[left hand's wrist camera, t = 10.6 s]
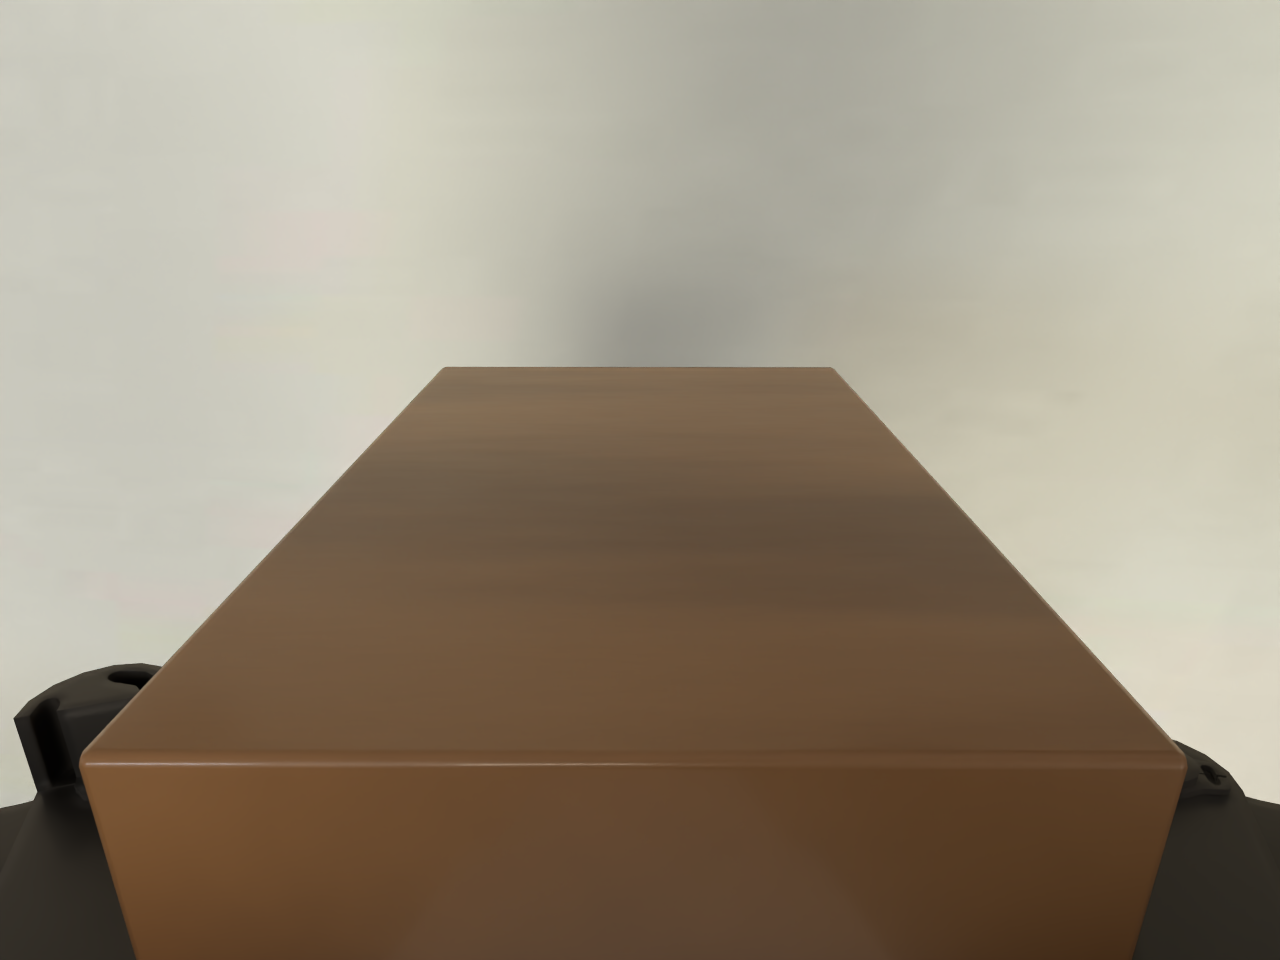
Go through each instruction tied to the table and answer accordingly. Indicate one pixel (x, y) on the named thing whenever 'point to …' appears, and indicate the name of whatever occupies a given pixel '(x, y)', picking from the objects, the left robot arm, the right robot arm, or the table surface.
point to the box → (634, 704)
